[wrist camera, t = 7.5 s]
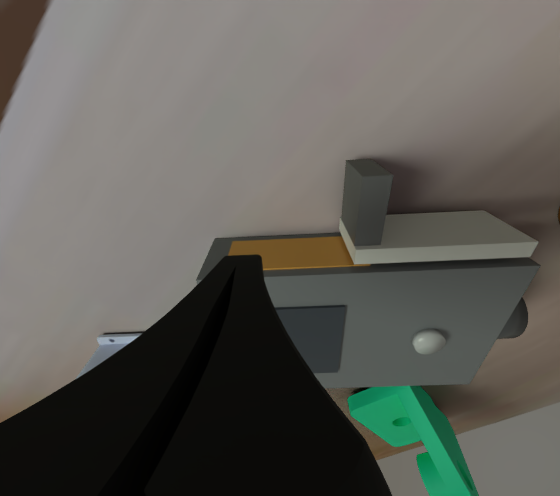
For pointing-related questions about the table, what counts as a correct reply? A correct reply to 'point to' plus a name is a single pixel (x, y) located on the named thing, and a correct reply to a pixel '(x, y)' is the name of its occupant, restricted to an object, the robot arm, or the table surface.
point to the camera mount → (416, 434)
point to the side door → (417, 226)
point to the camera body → (386, 309)
